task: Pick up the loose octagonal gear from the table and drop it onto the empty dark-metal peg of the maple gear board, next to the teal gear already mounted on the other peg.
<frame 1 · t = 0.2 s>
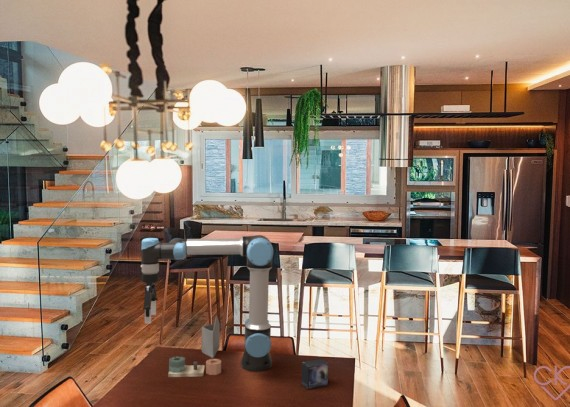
hand: (150, 319, 236), 28 cm above the table, fingers open, 13 cm apart
small box: (314, 385, 233), on the table
loose gear: (213, 371, 246), on the table
grey magazine holder: (209, 352, 273), on the table
gear board: (186, 372, 245), on the table
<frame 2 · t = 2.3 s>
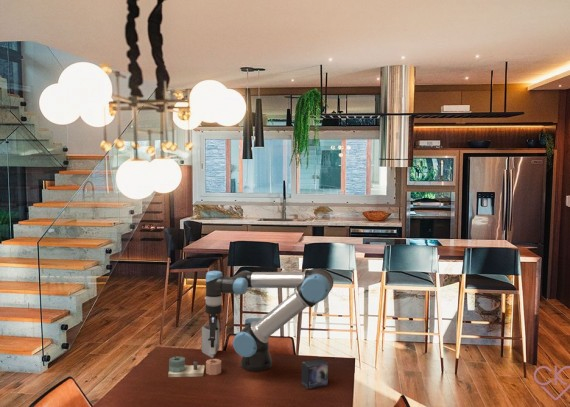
hand: (213, 348, 246), 11 cm above the table, fingers open, 13 cm apart
nothing on the table moved.
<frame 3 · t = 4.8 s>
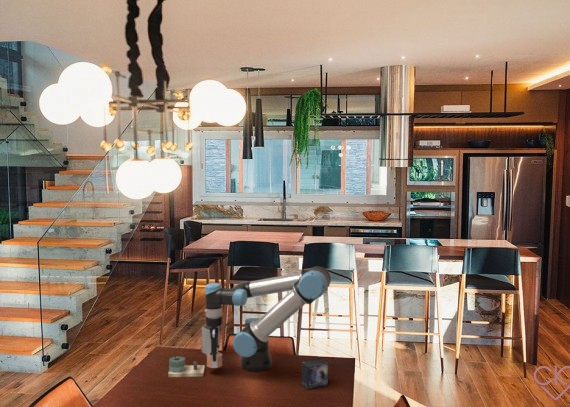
hand: (215, 364, 246), 4 cm above the table, fingers closed on loose gear, 7 cm apart
loose gear: (214, 365, 246), point 3 cm above the table, touching gripper
everything else where it was.
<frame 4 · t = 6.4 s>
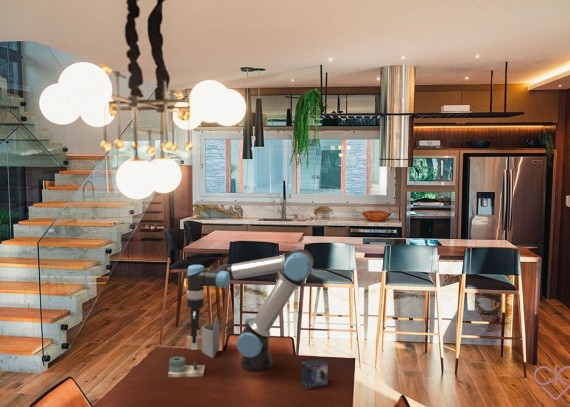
hand: (194, 346, 245), 12 cm above the table, fingers closed on loose gear, 7 cm apart
loose gear: (194, 346, 245), point 12 cm above the table, touching gripper
everything else where it was.
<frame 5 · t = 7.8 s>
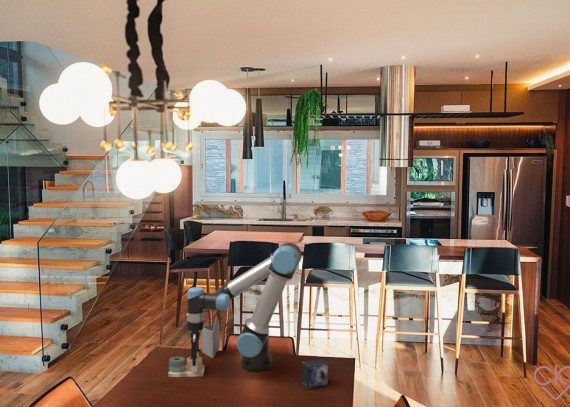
hand: (194, 368, 246), 2 cm above the table, fingers closed on gear board, loose gear, 7 cm apart
loose gear: (194, 369, 246), point 2 cm above the table, touching gear board, gripper
everything else where it was.
when the fingers open (2 cm above the table, at t = 8.5 s): loose gear stays where it is, resting on gear board.
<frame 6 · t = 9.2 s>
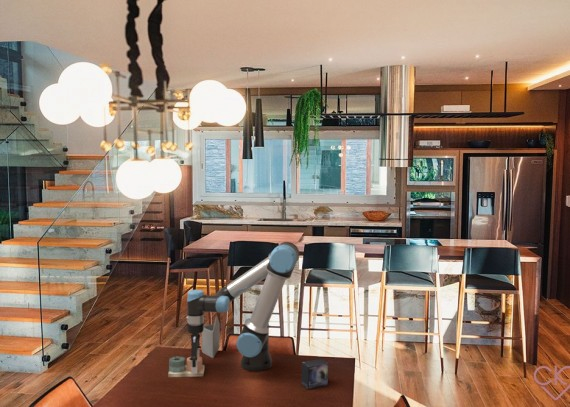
hand: (195, 367, 246), 2 cm above the table, fingers open, 13 cm apart
loose gear: (194, 369, 246), point 1 cm above the table, touching gear board
everything else where it was.
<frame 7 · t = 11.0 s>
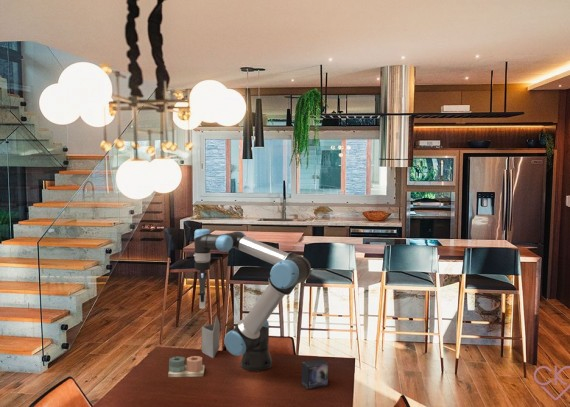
hand: (202, 304, 253), 30 cm above the table, fingers open, 13 cm apart
nothing on the table moved.
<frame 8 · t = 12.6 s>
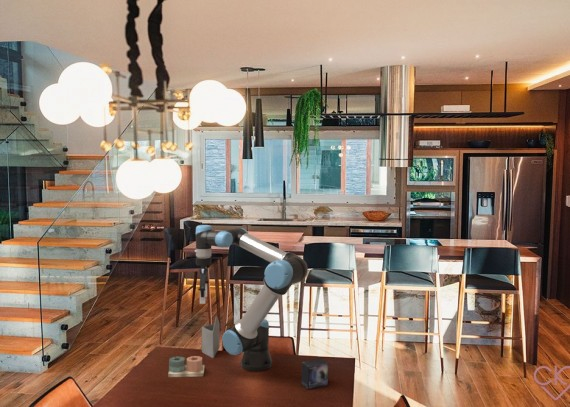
hand: (203, 300, 255), 32 cm above the table, fingers open, 13 cm apart
nothing on the table moved.
at the end: loose gear 0.4 cm from the target spot on the gear board, point 1.5 cm above the gear board's base; loose gear tilted 0°; the gripper is holding nothing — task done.
